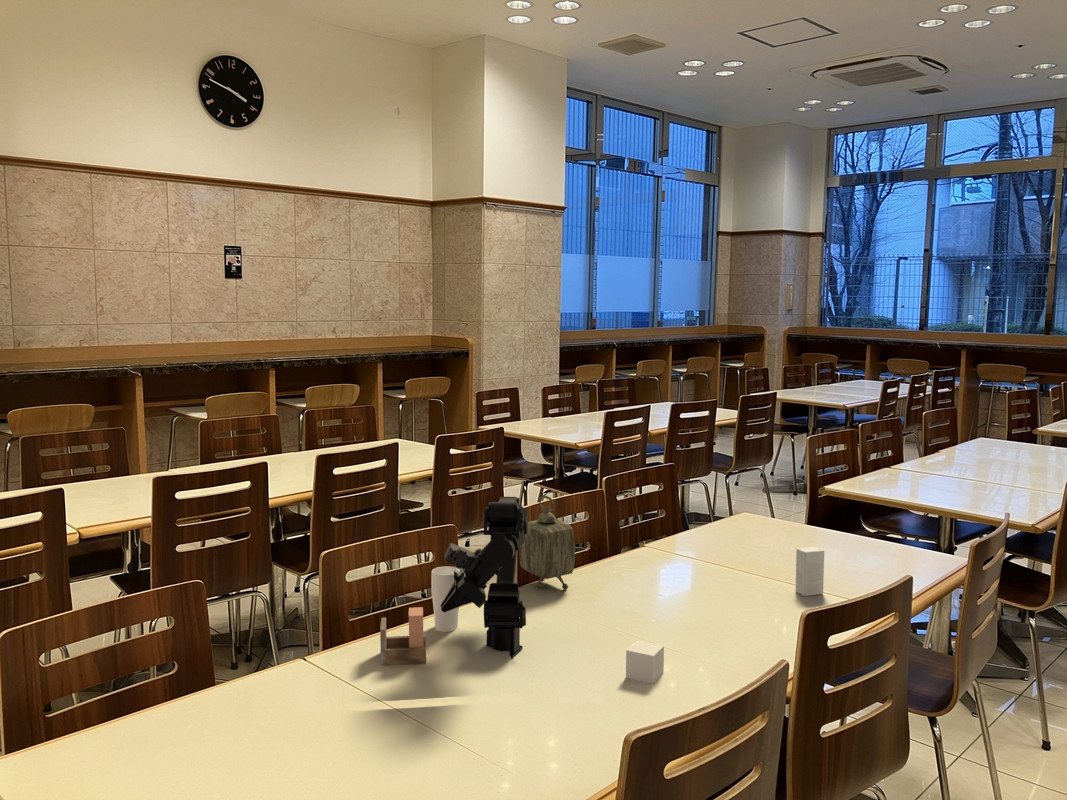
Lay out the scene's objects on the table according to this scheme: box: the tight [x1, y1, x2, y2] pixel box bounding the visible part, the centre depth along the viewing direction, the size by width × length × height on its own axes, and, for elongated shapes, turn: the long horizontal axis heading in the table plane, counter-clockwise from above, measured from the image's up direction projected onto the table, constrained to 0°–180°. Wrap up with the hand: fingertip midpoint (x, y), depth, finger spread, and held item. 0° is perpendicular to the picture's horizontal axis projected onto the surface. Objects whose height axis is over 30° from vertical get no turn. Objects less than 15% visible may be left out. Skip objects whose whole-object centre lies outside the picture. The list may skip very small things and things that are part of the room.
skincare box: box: [795, 546, 825, 597], centre depth 233 cm, size 6×4×12 cm
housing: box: [379, 617, 427, 667], centre depth 187 cm, size 10×8×9 cm
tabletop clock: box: [518, 495, 576, 591], centre depth 237 cm, size 14×9×25 cm, turn 34°
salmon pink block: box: [408, 606, 424, 648], centre depth 187 cm, size 3×5×10 cm, turn 8°
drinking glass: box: [430, 565, 461, 633], centre depth 204 cm, size 7×7×15 cm
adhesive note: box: [625, 640, 665, 684], centre depth 182 cm, size 6×6×6 cm
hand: (442, 609), depth 188 cm, fingers closed
